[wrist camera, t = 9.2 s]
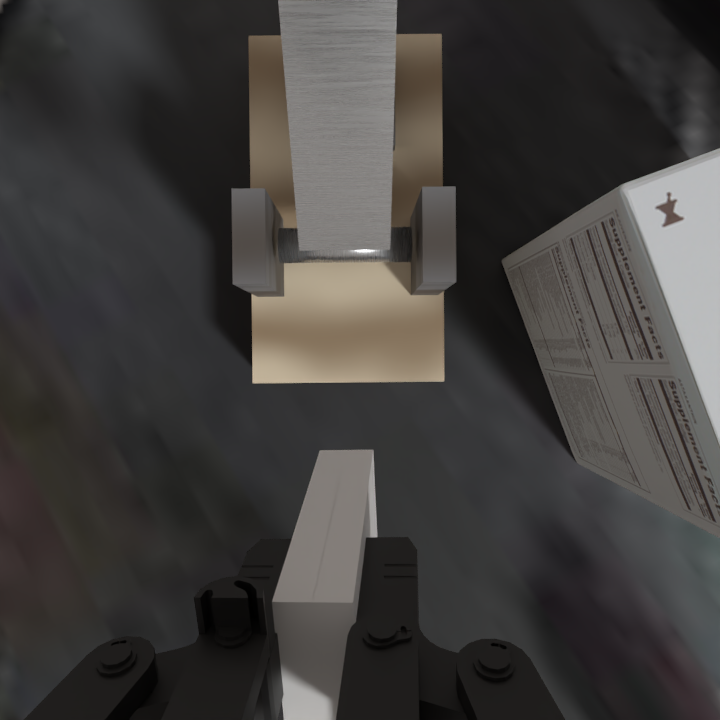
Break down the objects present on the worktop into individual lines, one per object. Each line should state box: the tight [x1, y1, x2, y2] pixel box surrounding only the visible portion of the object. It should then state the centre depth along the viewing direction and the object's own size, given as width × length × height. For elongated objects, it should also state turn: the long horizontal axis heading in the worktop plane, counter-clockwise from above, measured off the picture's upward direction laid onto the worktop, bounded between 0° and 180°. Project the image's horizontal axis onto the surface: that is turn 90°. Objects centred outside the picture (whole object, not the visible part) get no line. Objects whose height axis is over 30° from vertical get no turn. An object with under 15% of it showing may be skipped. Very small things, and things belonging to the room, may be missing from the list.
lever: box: [278, 0, 412, 263], centre depth 24 cm, size 5×6×19 cm
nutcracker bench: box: [231, 34, 456, 383], centre depth 32 cm, size 18×10×10 cm, turn 1°
